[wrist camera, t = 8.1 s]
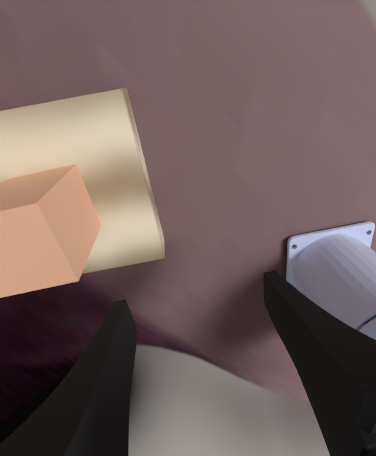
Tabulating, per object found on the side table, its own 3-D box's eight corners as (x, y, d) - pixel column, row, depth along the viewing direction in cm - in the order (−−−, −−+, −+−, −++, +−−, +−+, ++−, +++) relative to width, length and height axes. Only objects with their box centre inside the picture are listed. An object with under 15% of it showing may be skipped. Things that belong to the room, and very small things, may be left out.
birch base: (164, 238, 23) (164, 258, 20) (32, 262, 23) (16, 286, 20) (127, 87, 17) (121, 88, 14) (-52, 120, 17) (-91, 127, 14)
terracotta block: (101, 224, 18) (78, 281, 13) (40, 237, 18) (-7, 299, 13) (76, 164, 16) (36, 203, 11) (6, 179, 16) (-66, 225, 11)
